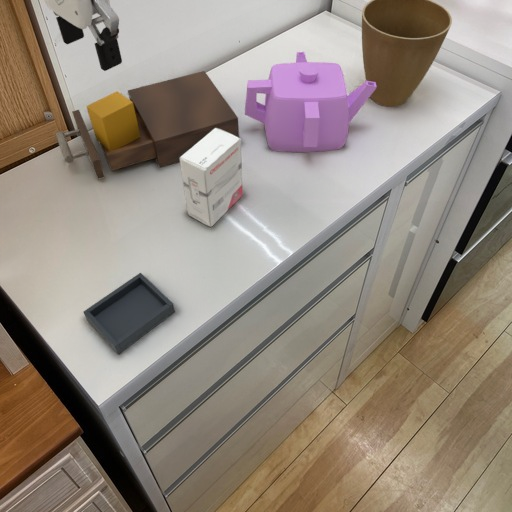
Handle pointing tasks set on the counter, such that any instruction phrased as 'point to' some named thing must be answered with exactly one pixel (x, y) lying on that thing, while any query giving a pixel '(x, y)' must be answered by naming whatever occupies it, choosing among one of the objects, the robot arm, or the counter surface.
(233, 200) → the ink box
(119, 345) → the dark grey tray
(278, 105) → the teakettle
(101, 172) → the drawer
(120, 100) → the box
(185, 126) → the cabinet
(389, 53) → the plant pot
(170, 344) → the counter surface
